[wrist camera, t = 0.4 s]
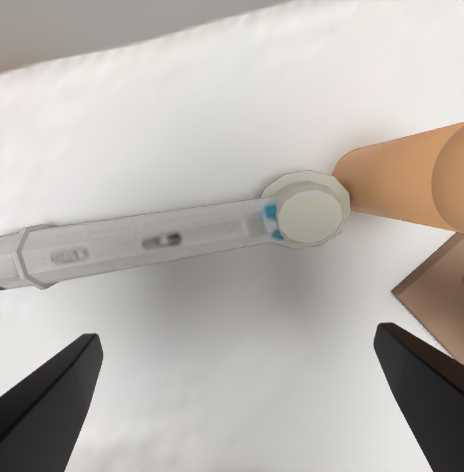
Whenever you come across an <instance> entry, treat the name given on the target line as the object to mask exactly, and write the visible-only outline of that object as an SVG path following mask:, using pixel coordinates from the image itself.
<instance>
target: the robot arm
mask: <svg viewBox="0 0 464 472" xmlns="http://www.w3.org/2000/svg"><path fill="white" fill-rule="evenodd" d="M374 349H375V352H376V354H377V357H378V359H379V362H380V364H381V367H382V369H383V372H384V374H385V377H386V379H387V381H388V384H389V386H390V389H391V391H392V393H393V396H394V398H395V400H396V402H397V404H398V406H399V407H400V409H401V411H402V413H403V415H404V417H405V419H406V421H407V423H408V425H409V427H410V428H411V430H412V432H413V434H414V436H415V438H416V440H417V442H418V444H419V446H420V448H421V449H422V451H423V453H424V455H425V457H426V459H427V461H428V463H429V465H430V467H431V468H432V470H433V472H464V365H463V364H461V363H459V362H458V361H456V360H454V359H453V358H451V357H449V356H448V355H446V354H444V353H443V352H441V351H439V350H438V349H436V348H434V347H433V346H431V345H429V344H428V343H426V342H424V341H423V340H421V339H419V338H418V337H416V336H414V335H413V334H411V333H409V332H408V331H406V330H404V329H403V328H401V327H399V326H398V325H396V324H394V323H391V322H389V323H379V325H378V326H377V330H376V334H375V338H374ZM102 361H103V350H102V346H101V343H100V339H99V336H98V334H96V333H91V334H83V335H81V336H80V337H79V338H77V339H76V340H75V341H73V342H72V343H71V344H69V345H68V346H67V347H65V348H64V349H63V350H61V351H60V352H59V353H57V354H56V355H55V356H54V357H52V358H51V359H50V360H48V361H47V362H46V363H44V364H43V365H42V366H40V367H39V368H38V369H36V370H35V371H34V372H32V373H31V374H30V375H28V376H27V377H26V378H24V379H23V380H22V381H21V382H19V383H18V384H17V385H15V386H14V387H13V388H11V389H10V390H9V391H7V392H6V393H5V394H3V395H2V396H1V397H0V472H64V471H65V469H66V466H67V463H68V461H69V458H70V456H71V453H72V451H73V448H74V446H75V443H76V441H77V438H78V436H79V433H80V431H81V428H82V426H83V423H84V420H85V418H86V415H87V413H88V410H89V407H90V403H91V400H92V396H93V393H94V389H95V386H96V382H97V379H98V375H99V372H100V368H101V365H102Z"/></svg>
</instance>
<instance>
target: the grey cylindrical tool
mask: <svg viewBox="0 0 464 472" xmlns="http://www.w3.org/2000/svg"><path fill="white" fill-rule="evenodd" d="M350 214H351V208H350V198H349V192H348V191H347V190H346V189H345V188H344V187H343V186H342V185H341V184H340V183H339V181H338V180H337V179H336V178H335V177H333V176H330V175H326V174H323V173H319V172H316V171H312V170H307V171H301V172H296V173H290V174H285V175H283V176H281V177H280V178H279V179H277V180H276V181H274V182H273V183H272V184H270V185H269V186H267V187H266V188H265V189H264V191H263V193H262V195H261V197H260V198H258V199H251V200H244V201H237V202H230V203H223V204H215V205H208V206H201V207H194V208H187V209H180V210H173V211H166V212H158V213H151V214H144V215H137V216H130V217H123V218H116V219H109V220H101V221H94V222H87V223H80V224H73V225H66V226H59V227H52V228H51V227H50V226H49V225H47V224H41V225H36V226H32V227H27V228H23V229H21V231H20V233H16V234H10V235H4V236H0V290H6V289H13V288H20V287H27V286H35V287H37V288H39V289H41V290H43V289H47V288H49V287H50V286H52V285H54V284H56V283H58V282H60V281H64V280H69V279H75V278H80V277H85V276H91V275H96V274H102V273H107V272H112V271H118V270H123V269H128V268H134V267H139V266H145V265H150V264H155V263H161V262H166V261H172V260H177V259H182V258H188V257H193V256H199V255H204V254H209V253H215V252H220V251H225V250H231V249H236V248H242V247H247V246H252V245H258V244H263V243H269V242H273V243H276V244H279V245H283V246H286V247H290V248H293V249H300V248H307V247H314V246H320V245H322V244H323V243H325V242H326V241H328V240H329V239H331V238H333V237H334V236H336V235H337V234H339V233H340V232H341V230H342V229H343V227H344V225H345V223H346V221H347V220H348V218H349V216H350Z"/></svg>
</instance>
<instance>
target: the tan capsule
mask: <svg viewBox="0 0 464 472" xmlns="http://www.w3.org/2000/svg"><path fill="white" fill-rule="evenodd" d="M333 177H335V178H336V179H337V180H338V181H339V183H340V184H341V185H342V186H343V187H344V188H345V189H346V190H347V191H348V192H349V198H350V208H351V210H354V211H358V212H363V213H368V214H373V215H378V216H383V217H388V218H392V219H397V220H402V221H407V222H412V223H417V224H422V225H426V226H431V227H436V228H441V229H446V230H451V231H456V232H460V233H464V122H462V123H458V124H454V125H450V126H446V127H442V128H438V129H434V130H430V131H426V132H422V133H418V134H415V135H411V136H407V137H403V138H399V139H395V140H391V141H387V142H383V143H379V144H375V145H371V146H367V147H363V148H359V149H355V150H353V151H351V152H349V153H347V154H346V155H345V156H344V157H343V158H341V160H340V161H339V162H338V164H337V165H336V167H335V169H334V172H333Z"/></svg>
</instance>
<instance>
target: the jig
mask: <svg viewBox="0 0 464 472" xmlns="http://www.w3.org/2000/svg"><path fill="white" fill-rule="evenodd" d="M391 292H392V293H393V294H394V296H395V297H396V298H397V299H398V300H399V301H400V302H401V303H402V304H403V305H404V306H405V307H406V308H407V309H408V310H409V311H410V312H411V313H412V315H413V316H414V317H415V318H416V319H417V320H418V321H419V322H420V323H421V324H422V325H423V326H424V327H425V328H426V329H427V330H428V331H429V332H430V333H431V335H432V336H433V337H434V338H435V339H436V340H437V341H438V342H439V343H440V344H441V345H442V346H443V347H444V348H445V349H446V350H447V351H448V352H449V354H450V355H451V356H452V357H453V358H454V359H455V360H456V361H458V362H459V363H461V364H463V365H464V233H460V232H457V233H456V234H455V235H454V236H453V237H452V238H450V239H449V240H448V241H447V242H446V243H445V244H444V245H443V246H441V247H440V248H439V249H438V250H437V251H436V252H435V253H434V254H433V255H431V256H430V257H429V258H428V259H427V260H426V261H425V262H424V263H422V264H421V265H420V266H419V267H418V268H417V269H416V270H415V271H414V272H412V273H411V274H410V275H409V276H408V277H407V278H406V279H405V280H403V281H402V282H401V283H400V284H399V285H398V286H397V287H396V288H395V289H393V290H392V291H391Z"/></svg>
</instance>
